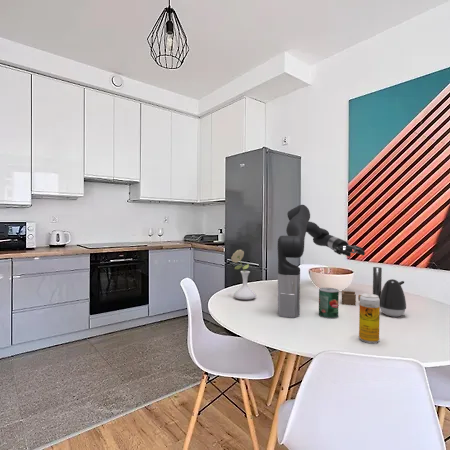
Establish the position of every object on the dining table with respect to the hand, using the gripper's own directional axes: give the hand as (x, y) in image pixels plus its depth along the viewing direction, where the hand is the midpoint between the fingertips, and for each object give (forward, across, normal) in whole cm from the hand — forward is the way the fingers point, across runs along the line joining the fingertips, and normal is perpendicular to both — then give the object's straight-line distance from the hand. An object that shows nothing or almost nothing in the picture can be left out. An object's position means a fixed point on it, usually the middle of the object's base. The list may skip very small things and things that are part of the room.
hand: (357, 254), depth 161 cm
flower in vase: (-9, -58, +22) cm, 63 cm away
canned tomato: (+26, -33, +16) cm, 45 cm away
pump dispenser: (+32, -6, +16) cm, 37 cm away
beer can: (+53, -36, +10) cm, 65 cm away
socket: (+12, -12, +20) cm, 26 cm away
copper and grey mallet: (+19, -1, +19) cm, 27 cm away
